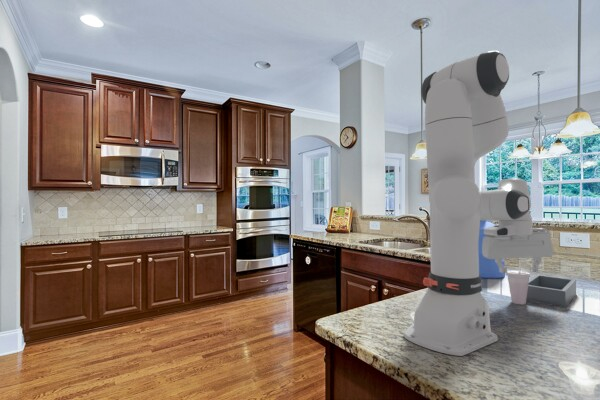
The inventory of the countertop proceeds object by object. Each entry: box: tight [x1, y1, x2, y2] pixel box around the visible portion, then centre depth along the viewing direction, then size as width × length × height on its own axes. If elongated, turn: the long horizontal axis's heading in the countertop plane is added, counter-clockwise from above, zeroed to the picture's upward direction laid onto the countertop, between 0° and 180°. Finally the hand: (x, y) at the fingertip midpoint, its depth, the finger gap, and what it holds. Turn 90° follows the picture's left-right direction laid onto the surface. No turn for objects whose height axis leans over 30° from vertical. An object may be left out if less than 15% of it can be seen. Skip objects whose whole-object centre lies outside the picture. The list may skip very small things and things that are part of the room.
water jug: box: [478, 221, 506, 279], centre depth 138 cm, size 16×16×28 cm
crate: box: [526, 274, 577, 309], centre depth 105 cm, size 20×11×5 cm, turn 132°
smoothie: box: [505, 258, 531, 305], centre depth 100 cm, size 6×6×14 cm
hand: (518, 272), depth 100 cm, fingers open, 8 cm apart
